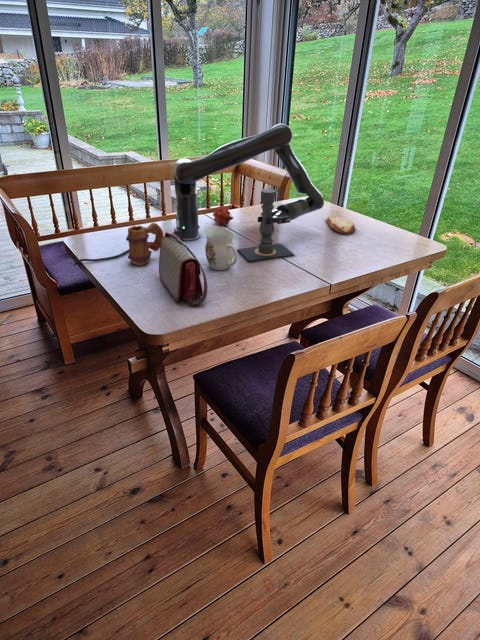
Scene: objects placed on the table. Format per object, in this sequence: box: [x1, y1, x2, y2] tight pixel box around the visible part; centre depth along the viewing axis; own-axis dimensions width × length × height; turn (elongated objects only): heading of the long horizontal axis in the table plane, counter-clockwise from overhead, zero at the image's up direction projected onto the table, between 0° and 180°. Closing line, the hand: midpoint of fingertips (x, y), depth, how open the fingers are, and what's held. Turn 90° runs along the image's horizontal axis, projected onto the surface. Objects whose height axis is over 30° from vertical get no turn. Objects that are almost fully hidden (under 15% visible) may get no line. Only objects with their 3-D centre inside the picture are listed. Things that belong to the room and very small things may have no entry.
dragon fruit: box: [212, 205, 234, 226], centre depth 218 cm, size 8×8×12 cm
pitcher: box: [204, 226, 239, 271], centre depth 172 cm, size 11×18×14 cm, turn 41°
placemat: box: [236, 243, 295, 263], centre depth 188 cm, size 20×13×1 cm, turn 111°
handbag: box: [158, 231, 208, 306], centre depth 153 cm, size 28×11×17 cm, turn 25°
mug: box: [125, 222, 164, 266], centre depth 175 cm, size 15×8×15 cm, turn 117°
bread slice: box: [326, 215, 356, 236], centre depth 217 cm, size 18×18×4 cm
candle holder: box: [258, 188, 276, 254], centre depth 181 cm, size 6×6×25 cm
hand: (262, 221), depth 179 cm, fingers closed on candle holder, 3 cm apart
